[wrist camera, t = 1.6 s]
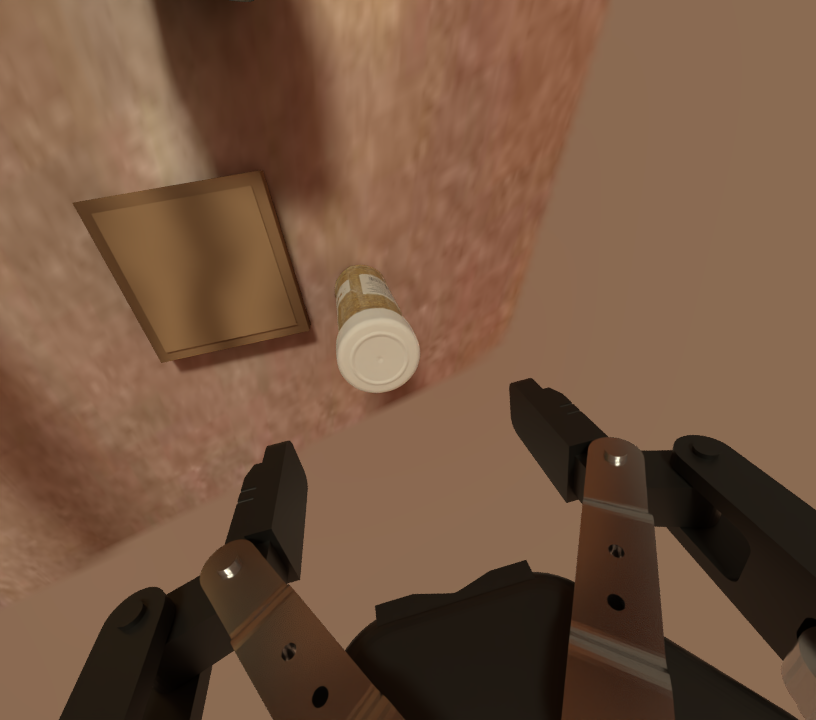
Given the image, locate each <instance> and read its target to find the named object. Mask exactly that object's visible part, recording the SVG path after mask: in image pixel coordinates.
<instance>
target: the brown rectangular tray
mask: <svg viewBox="0 0 816 720" xmlns="http://www.w3.org/2000/svg"><path fill="white" fill-rule="evenodd" d="M73 205H74V207H75V208H76V210H77V212H78V214H79V216H80V217H81V219H82V221H83V223H84V225H85V226H86V228H87V230H88V232H89V234H90V235H91V237H92V239H93V241H94V243H95V244H96V246H97V248H98V250H99V252H100V253H101V255H102V257H103V259H104V261H105V262H106V264H107V266H108V268H109V269H110V271H111V273H112V275H113V277H114V278H115V280H116V282H117V284H118V286H119V287H120V289H121V291H122V293H123V295H124V296H125V298H126V300H127V302H128V304H129V305H130V307H131V309H132V311H133V313H134V314H135V316H136V318H137V320H138V322H139V323H140V325H141V327H142V329H143V331H144V332H145V334H146V336H147V338H148V340H149V341H150V343H151V345H152V347H153V349H154V350H155V352H156V354H157V356H158V358H159V359H160V361H161V363H163V362H168V361H172V360H177V359H182V358H186V357H191V356H195V355H200V354H205V353H209V352H214V351H218V350H223V349H228V348H232V347H237V346H241V345H246V344H251V343H255V342H260V341H264V340H269V339H274V338H278V337H283V336H287V335H292V334H297V333H301V332H306V331H310V325H311V324H310V321H309V318H308V315H307V311H306V308H305V305H304V302H303V298H302V295H301V292H300V289H299V286H298V282H297V279H296V276H295V273H294V269H293V266H292V263H291V260H290V257H289V253H288V250H287V247H286V244H285V240H284V237H283V234H282V231H281V227H280V224H279V221H278V218H277V215H276V211H275V208H274V205H273V202H272V198H271V195H270V192H269V189H268V186H267V182H266V179H265V176H264V173H263V171H253V172H248V173H242V174H236V175H230V176H225V177H219V178H213V179H207V180H202V181H196V182H190V183H184V184H178V185H173V186H167V187H161V188H155V189H150V190H144V191H138V192H132V193H127V194H121V195H115V196H109V197H104V198H98V199H92V200H86V201H80V202H75V203H73Z"/></svg>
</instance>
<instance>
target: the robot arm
mask: <svg viewBox="0 0 816 720" xmlns="http://www.w3.org/2000/svg"><path fill="white" fill-rule="evenodd" d="M509 391H510V410H511V420H512V424H513V427H514V429H515V431H516V433H517V434H518V436H519V437H520V439H521V440H522V441H523V443H524V444H525V446H526V447H527V448H528V450H529V451H530V453H531V454H532V456H533V457H534V458H535V460H536V461H537V462H538V464H539V465H540V467H541V468H542V469H543V471H544V472H545V474H546V475H547V476H548V478H549V479H550V481H551V482H552V483H553V485H554V486H555V487H556V489H557V490H558V492H559V493H560V495H561V496H562V497H563V499H564V500H565V501H566V503H568V502H571V501H575V500H578V499H579V500H580V502H581V503H582V514H581V525H580V535H579V545H578V556H577V566H576V576H575V582H573V581H571V580H569V579H566V578H563V577H560V576H558V575H553V574H549V573H541V572H532V571H531V569H530V567H529V565H528V563H527V561H526V560H524V561H521V562H518V563H515V564H511V565H508V566H504V567H501V568H498V569H494V570H491V571H489V572H487V573H486V574H484V575H483V576H481V577H480V578H478V579H477V580H475V581H473V582H472V583H470V584H469V585H467V586H466V587H464V588H463V589H461V590H459V591H458V592H456V593H447V594H412V595H409V596H406V597H403V598H399V599H396V600H392V601H389V602H386V603H382V604H380V605H376V606H375V610H376V620H375V621H373V622H372V623H370V624H369V625H368V626H367V627H365V628H364V629H363V630H362V631H361V632H360V633H359V634H358V635H357V636H356V637H355V638H354V639H353V640H352V642H351V643H350V644H349V646H348V647H347V648H346V650H344V649H343V648H342V647H341V645H340V644H339V643H338V642H337V641H336V639H335V638H334V637H333V636H332V635H331V633H330V632H329V631H328V630H327V629H326V627H325V626H324V625H323V624H322V623H321V622H320V620H319V619H318V618H317V617H316V616H315V614H314V613H313V612H312V611H311V610H310V608H309V607H308V606H307V605H306V604H305V603H304V601H303V600H302V599H301V598H300V596H299V595H298V594H297V593H296V592H295V590H294V589H293V588H292V587H291V586H290V585H287V583H290V582H294V581H297V580H300V574H301V562H302V561H301V560H302V549H303V538H304V527H305V515H306V503H307V490H308V488H307V487H308V486H307V479H306V475H305V472H304V469H303V467H302V465H301V462H300V460H299V458H298V456H297V453H296V451H295V449H294V447H293V444H292V443H291V441H285V442H281V443H277V444H274V445H270V446H267V447H266V450H265V454H264V458H263V462H262V463H259V464H256V465H254V466H253V467H252V469H251V470H250V471H249V473H248V474H247V475H246V477H245V478H244V482H243V485H242V488H241V493H240V495H239V498H238V504H237V505H236V509H235V512H234V515H233V519H232V522H231V525H230V529H229V532H228V535H227V539H226V542H225V545H223V546H222V547H220V548H219V549H218V550H217V551H215V552H214V553H213V554H212V556H210V557H209V559H208V560H207V561H206V563H205V565H204V566H203V569H202V571H201V574H200V576H198V577H196V578H195V579H193V580H191V581H190V582H188V583H186V584H184V585H183V586H181V587H179V588H178V589H175V590H174V591H172V592H170V593H168V594H167V595H166V594H165V593H164V592H163V590H161V589H160V588H158V587H149V588H145V589H142V590H140V591H138V592H136V593H134V594H132V595H131V596H129V597H128V598H127V599H125V600H124V601H123V602H122V603H121V604H120V605H119V606H118V607H117V608H116V609H115V610H114V611H113V612H112V613H111V614H110V616H109V617H108V618H107V620H106V622H105V623H104V625H103V627H102V629H101V631H100V633H99V635H98V637H97V639H96V642H95V644H94V646H93V648H92V650H91V652H90V654H89V657H88V659H87V661H86V663H85V665H84V667H83V669H82V671H81V674H80V676H79V678H78V680H77V682H76V684H75V687H74V689H73V691H72V693H71V695H70V697H69V699H68V702H67V704H66V706H65V708H64V710H63V712H62V715H61V716H60V719H59V720H201V719H202V714H203V710H204V704H205V700H206V695H207V690H208V685H209V680H210V675H211V670H212V665H213V664H215V663H216V662H218V661H219V660H221V659H222V658H224V657H225V656H227V655H228V654H230V653H231V652H233V651H235V653H236V654H237V656H238V658H239V660H240V662H241V663H242V665H243V667H244V668H245V671H246V672H247V674H248V676H249V678H250V679H251V681H252V683H253V685H254V687H255V688H256V690H257V691H258V694H259V695H260V697H261V699H262V701H263V702H264V704H265V706H266V707H267V710H268V711H269V713H270V715H271V717H272V718H273V720H798V719H797V718H795V717H794V716H793V715H791V714H790V713H788V712H786V711H785V710H783V709H782V708H780V707H778V706H777V705H775V704H774V703H772V702H770V701H769V700H767V699H765V698H764V697H762V696H760V695H759V694H757V693H755V692H754V691H752V690H750V689H749V688H747V687H746V686H744V685H743V684H741V683H739V682H738V681H736V680H734V679H733V678H731V677H730V676H728V675H726V674H724V673H723V672H721V671H719V670H718V669H716V668H715V667H713V666H712V665H710V664H708V663H707V662H705V661H703V660H702V659H700V658H698V657H697V656H695V655H694V654H692V653H690V652H689V651H687V650H685V649H684V648H682V647H681V646H679V645H677V644H676V643H674V642H672V641H671V640H669V639H668V638H666V637H664V635H663V622H662V611H661V599H660V587H659V575H658V563H657V552H656V540H655V528H654V526H657V527H667V528H668V529H669V531H670V532H671V533H672V534H673V535H674V536H675V538H676V539H677V540H678V541H679V542H680V543H681V545H682V546H683V547H684V548H685V549H686V550H687V551H688V553H690V555H691V556H692V557H693V558H694V559H695V561H696V562H697V563H698V564H699V565H700V566H701V567H702V569H703V570H704V571H705V572H706V573H707V574H708V575H709V577H710V578H711V579H712V580H713V581H714V582H715V584H716V585H717V586H718V587H719V588H720V589H721V590H722V592H723V593H724V594H725V595H726V596H727V597H728V598H729V599H730V601H731V602H732V603H733V604H734V605H735V606H736V608H737V609H738V610H739V611H740V612H741V613H742V615H743V616H744V617H745V618H746V619H747V620H748V621H749V623H750V624H751V625H752V626H753V627H754V628H755V629H756V631H757V632H758V633H759V634H760V635H761V636H762V637H763V639H764V640H765V641H766V642H767V643H768V644H769V645H770V647H771V648H772V649H773V650H774V651H775V652H776V653H777V655H778V656H779V657H780V658H781V659H782V660H783V662H782V666H781V672H782V677H783V681H784V683H785V686H786V688H787V690H788V691H789V693H790V695H791V696H792V698H793V699H794V701H795V702H796V704H797V706H798V709H799V711H800V713H801V714H802V715H803V717H804V718H805V719H806V720H816V510H815V509H813V508H812V507H811V506H810V505H808V504H807V503H805V502H804V501H803V500H801V499H800V498H799V497H797V496H796V495H795V494H793V493H792V492H790V491H789V490H788V489H786V488H785V487H784V486H782V485H781V484H780V483H778V482H777V481H775V480H774V479H773V478H771V477H770V476H769V475H767V474H766V473H765V472H763V471H762V470H761V469H759V468H758V467H757V466H755V465H754V464H752V463H751V462H750V461H748V460H747V459H746V458H744V457H743V456H742V455H740V454H739V453H737V452H736V451H735V450H733V449H732V448H731V447H729V446H728V445H726V444H724V443H723V442H721V441H718V440H716V439H713V438H710V437H706V436H700V435H687V436H683V437H680V438H678V439H677V440H676V441H675V443H674V446H673V450H667V451H666V450H664V451H663V450H662V451H641V450H640V449H639V448H638V447H637V446H635V445H634V444H632V443H630V442H628V441H626V440H623V439H620V438H614V437H608V436H607V435H606V434H605V433H603V431H602V430H600V429H599V428H598V427H597V426H596V425H595V424H594V423H593V422H592V421H591V420H590V419H589V418H588V417H587V416H586V415H585V414H583V413H582V412H580V411H579V409H578V408H577V407H576V406H575V405H574V404H572V402H571V401H569V399H568V398H566V397H565V396H564V395H563V394H562V393H560V392H558V391H555V390H553V389H551V388H545V389H542V388H541V387H540V386H539V385H538V384H537V383H536V382H535V381H534V380H533V379H532V378H528V379H525V380H521V381H517V382H514V383H511V384H510V387H509Z"/></svg>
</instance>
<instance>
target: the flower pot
mask: <svg viewBox="0 0 816 720" xmlns="http://www.w3.org/2000/svg"><path fill="white" fill-rule="evenodd" d="M231 1H239V2H251V1H254V0H231Z"/></svg>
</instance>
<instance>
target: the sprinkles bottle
mask: <svg viewBox="0 0 816 720" xmlns="http://www.w3.org/2000/svg"><path fill="white" fill-rule="evenodd" d="M335 297H336V307H337V321H338V329H339V333H338V336H337V341H336V356H337V363H338V367H339V370H340V372H341V374H342V376H343V377H344V378H345V380H346V381H347V382H348V383H349V384H351V385H352V386H353V387H355V388H357V389H359V390H362V391H365V392H369V393H384V392H388V391H392V390H394V389H396V388H399V387H400V386H402V385H403V384H405V383H406V382H407V381H408V380H409V379H410V378H411V377H412V375H413V374H414V373H415V371H416V369H417V367H418V363H419V359H420V347H419V343H418V340H417V338H416V335H415V333H414V331H413V329H412V327H411V326H410V324H409V323H408V322H407V320H406V319H405V318H404V317H403V316H402V313H401V310H400V309H399V307H398V305H397V303H396V301H395V299H394V297H393V296H392V294H391V292H390V290H389V288H388V286H387V284H386V281H385V279H384V278H383V276H382V275H381V274H380V272H379V271H377V270H376V269H374V268H372V267H370V266H366V265H357V266H351V267H349V268H347V269H346V270H345V271H343V272H342V274H341V275H340V276H339V278H338V279H337V281H336V285H335Z"/></svg>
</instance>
